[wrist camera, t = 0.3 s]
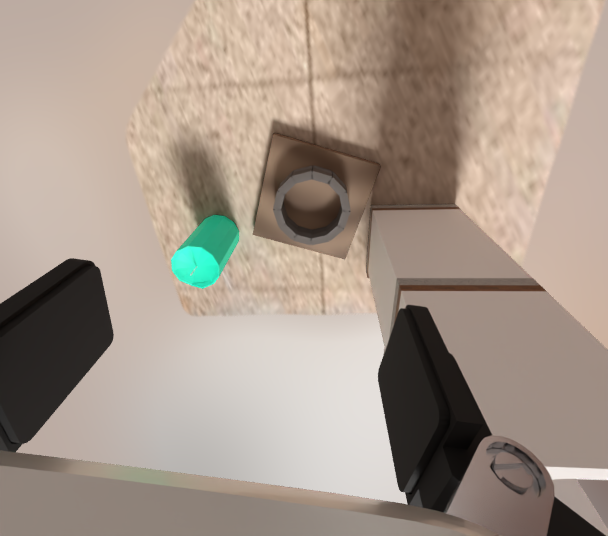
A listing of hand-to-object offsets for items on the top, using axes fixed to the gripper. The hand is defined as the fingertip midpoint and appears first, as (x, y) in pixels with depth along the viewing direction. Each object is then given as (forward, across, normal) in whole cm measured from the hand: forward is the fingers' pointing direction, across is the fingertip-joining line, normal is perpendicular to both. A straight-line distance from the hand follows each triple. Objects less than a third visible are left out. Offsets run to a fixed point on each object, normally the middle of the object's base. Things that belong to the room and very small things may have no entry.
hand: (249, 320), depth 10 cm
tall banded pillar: (+36, -16, +11) cm, 41 cm away
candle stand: (+36, -2, +7) cm, 36 cm away
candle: (+36, +11, +14) cm, 40 cm away
